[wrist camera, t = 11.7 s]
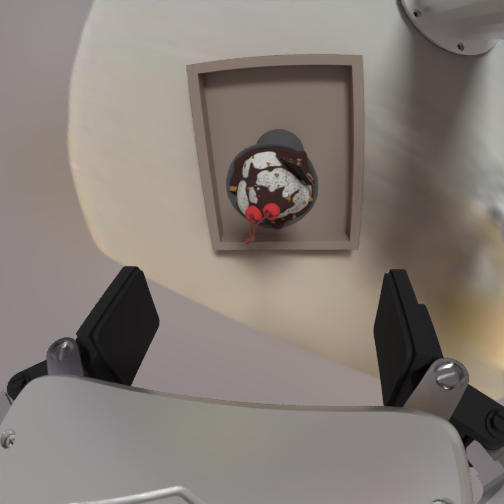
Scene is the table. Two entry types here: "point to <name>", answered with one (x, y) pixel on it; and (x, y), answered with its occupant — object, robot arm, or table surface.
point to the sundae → (272, 182)
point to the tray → (291, 119)
